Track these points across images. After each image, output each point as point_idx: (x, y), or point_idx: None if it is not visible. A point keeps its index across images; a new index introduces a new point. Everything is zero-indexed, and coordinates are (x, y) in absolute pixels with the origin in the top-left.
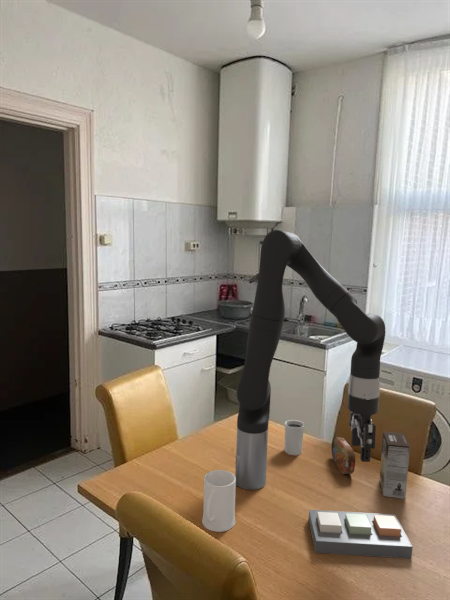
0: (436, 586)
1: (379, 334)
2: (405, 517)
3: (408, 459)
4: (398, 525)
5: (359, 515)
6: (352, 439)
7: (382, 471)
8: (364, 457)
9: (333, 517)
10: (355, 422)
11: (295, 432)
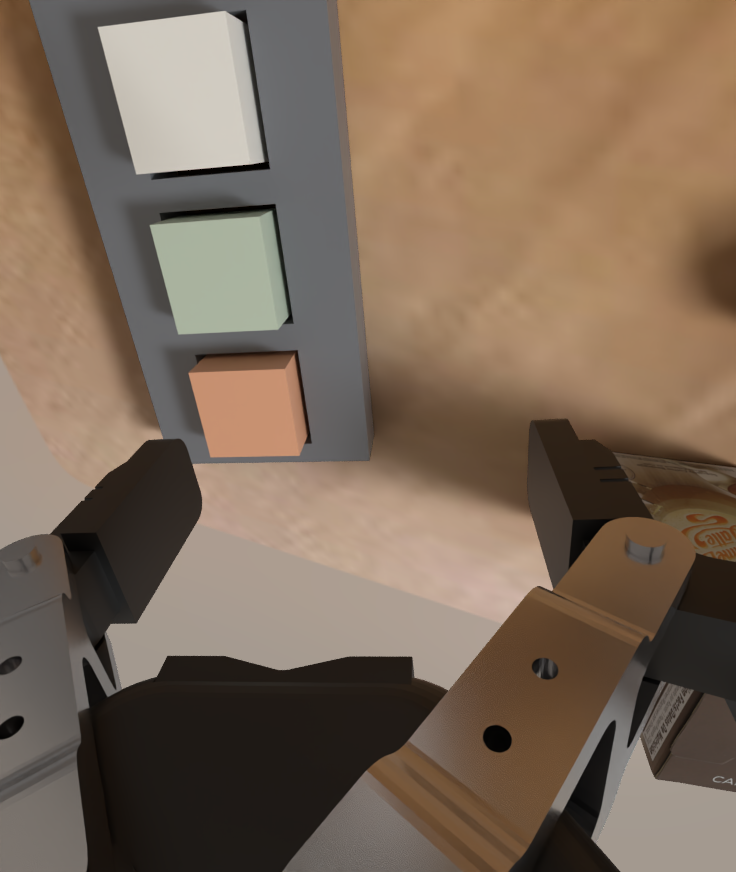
0: (88, 470)
1: None
2: (434, 489)
3: None
4: (232, 453)
5: (260, 294)
6: (548, 459)
7: (697, 510)
8: (99, 489)
9: (196, 129)
10: (55, 848)
11: None
